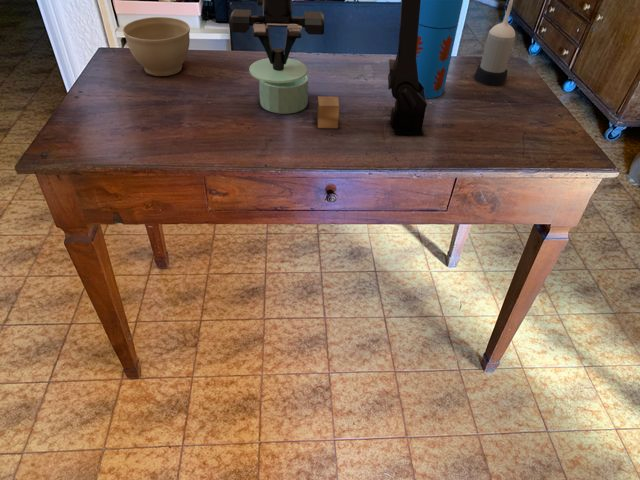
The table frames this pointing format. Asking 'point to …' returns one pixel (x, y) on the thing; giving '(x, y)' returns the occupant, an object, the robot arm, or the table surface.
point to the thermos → (436, 42)
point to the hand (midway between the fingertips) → (278, 63)
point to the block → (327, 112)
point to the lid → (278, 69)
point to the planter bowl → (158, 44)
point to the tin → (284, 96)
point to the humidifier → (496, 53)
